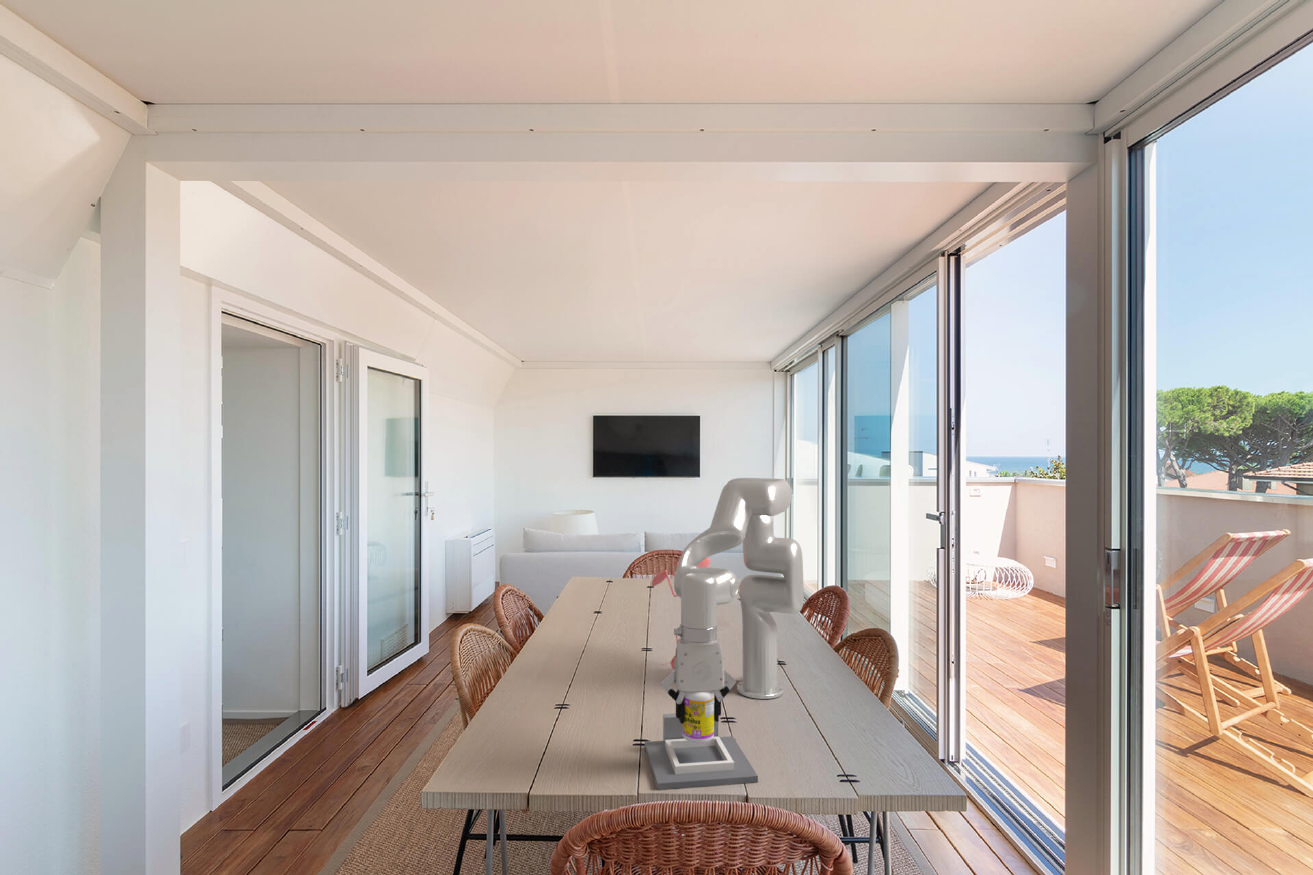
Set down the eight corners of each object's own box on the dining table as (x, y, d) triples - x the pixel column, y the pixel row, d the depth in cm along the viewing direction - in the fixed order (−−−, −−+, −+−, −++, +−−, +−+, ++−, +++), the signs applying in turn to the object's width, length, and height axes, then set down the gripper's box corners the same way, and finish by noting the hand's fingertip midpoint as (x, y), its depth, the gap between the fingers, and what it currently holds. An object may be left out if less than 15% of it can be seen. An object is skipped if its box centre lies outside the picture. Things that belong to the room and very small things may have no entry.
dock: (644, 747, 138) (645, 714, 138) (732, 741, 141) (732, 709, 141) (657, 789, 120) (657, 751, 120) (757, 782, 123) (757, 744, 123)
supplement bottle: (675, 736, 131) (676, 674, 131) (696, 727, 135) (697, 667, 136) (699, 747, 126) (700, 682, 126) (720, 737, 130) (721, 675, 131)
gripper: (660, 639, 126) (660, 729, 126) (743, 636, 129) (743, 724, 128) (655, 630, 134) (654, 715, 133) (733, 627, 137) (733, 710, 136)
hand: (698, 719), depth 131 cm, fingers closed on supplement bottle, 6 cm apart
